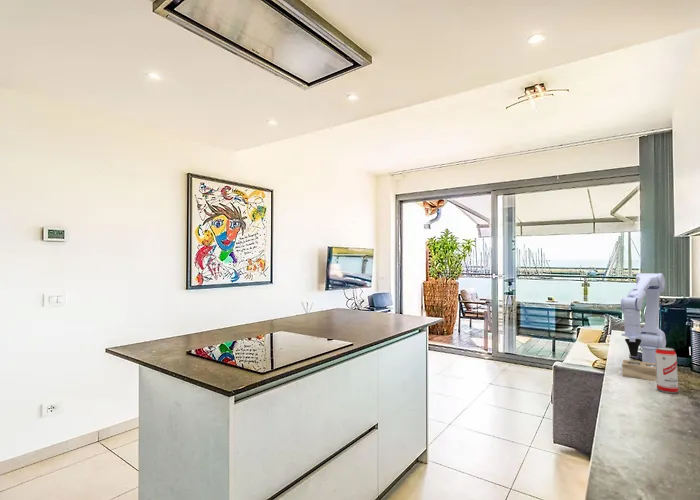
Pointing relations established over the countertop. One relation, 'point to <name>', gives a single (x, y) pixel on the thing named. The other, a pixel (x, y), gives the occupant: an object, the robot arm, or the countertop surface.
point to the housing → (639, 370)
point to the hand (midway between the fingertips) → (633, 355)
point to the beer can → (666, 370)
